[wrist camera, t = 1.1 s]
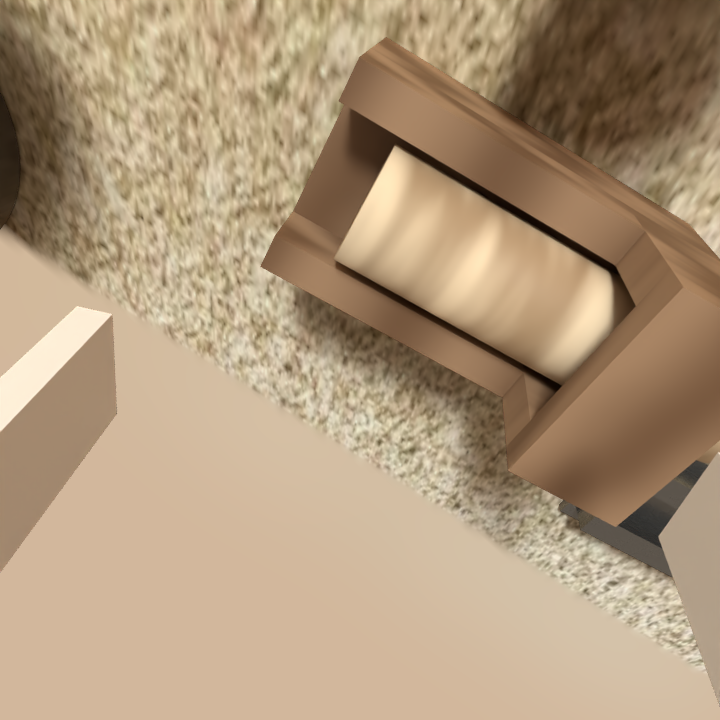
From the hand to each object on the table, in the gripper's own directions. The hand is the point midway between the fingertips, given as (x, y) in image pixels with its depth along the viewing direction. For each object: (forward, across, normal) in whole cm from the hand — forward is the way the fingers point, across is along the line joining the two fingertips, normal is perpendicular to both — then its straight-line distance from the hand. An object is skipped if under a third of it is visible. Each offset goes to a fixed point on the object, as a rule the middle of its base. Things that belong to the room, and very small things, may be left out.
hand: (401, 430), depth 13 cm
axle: (+15, +6, -2) cm, 17 cm away
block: (+20, +4, -2) cm, 21 cm away
